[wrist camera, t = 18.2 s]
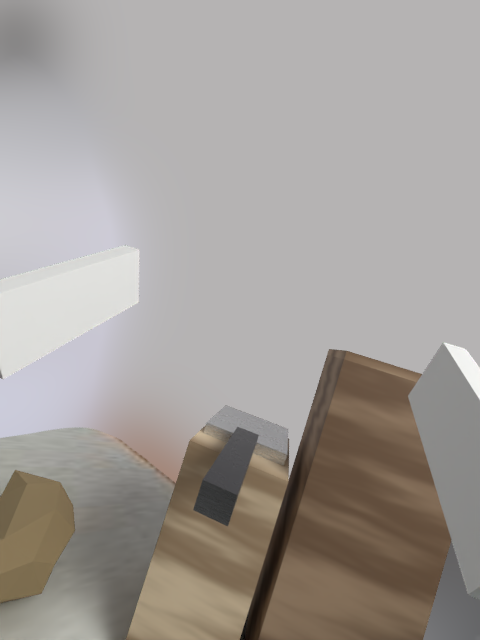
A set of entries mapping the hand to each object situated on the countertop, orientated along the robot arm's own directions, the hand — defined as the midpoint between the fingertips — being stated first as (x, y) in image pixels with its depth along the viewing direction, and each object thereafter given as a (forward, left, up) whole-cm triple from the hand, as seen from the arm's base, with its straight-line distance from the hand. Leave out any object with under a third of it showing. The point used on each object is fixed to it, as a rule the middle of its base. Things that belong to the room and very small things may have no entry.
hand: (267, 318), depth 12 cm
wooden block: (+6, +23, -35) cm, 42 cm away
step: (-6, +20, -35) cm, 41 cm away
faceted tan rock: (-24, +8, -35) cm, 43 cm away
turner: (-5, +16, -13) cm, 21 cm away
